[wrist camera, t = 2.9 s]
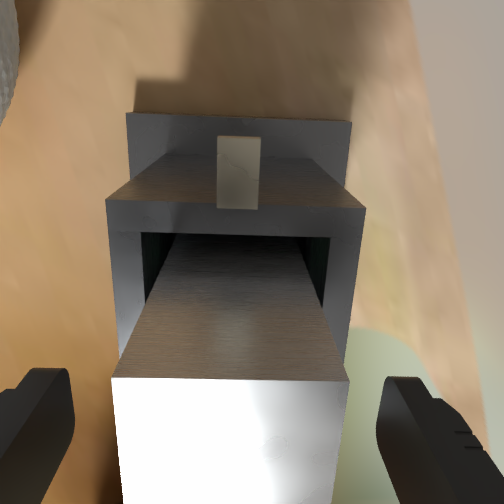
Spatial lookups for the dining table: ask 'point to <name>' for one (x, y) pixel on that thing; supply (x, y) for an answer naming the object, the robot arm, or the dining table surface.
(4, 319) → the dining table surface
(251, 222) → the sleeve stand
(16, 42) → the cereal bowl
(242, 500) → the post
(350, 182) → the dining table surface
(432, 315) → the dining table surface
